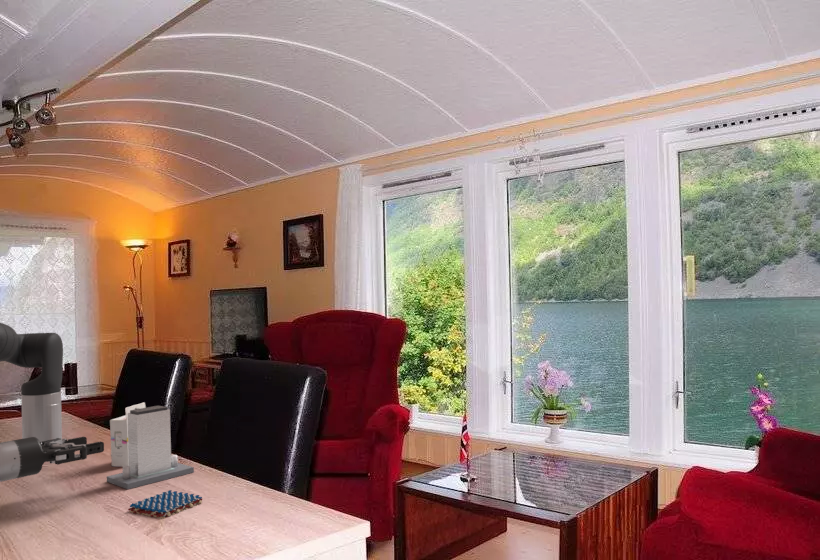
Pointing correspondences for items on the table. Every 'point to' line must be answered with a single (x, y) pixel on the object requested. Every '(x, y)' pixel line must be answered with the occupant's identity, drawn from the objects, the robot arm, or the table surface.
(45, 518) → the table surface
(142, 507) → the woven mat
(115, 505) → the table surface
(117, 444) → the ink cartridge box
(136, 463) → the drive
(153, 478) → the pin tray
